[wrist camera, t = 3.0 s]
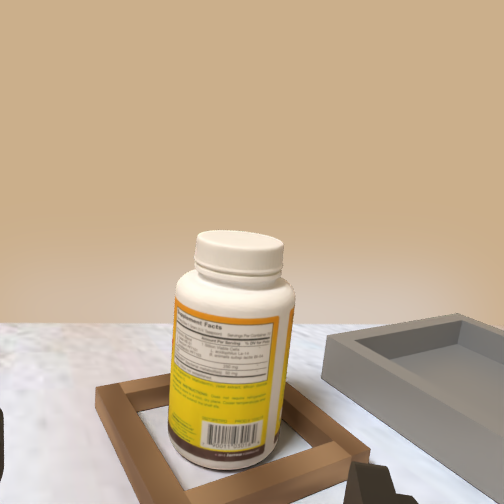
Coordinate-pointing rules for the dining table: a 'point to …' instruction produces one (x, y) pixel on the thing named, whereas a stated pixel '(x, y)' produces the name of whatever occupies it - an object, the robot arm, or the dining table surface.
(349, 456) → the holder frame
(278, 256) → the supplement bottle
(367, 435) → the dining table surface
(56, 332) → the dining table surface
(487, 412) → the tray
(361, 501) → the robot arm
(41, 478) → the dining table surface
